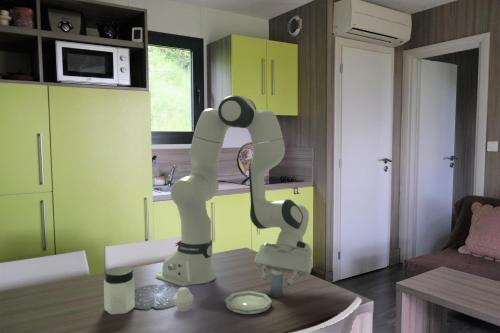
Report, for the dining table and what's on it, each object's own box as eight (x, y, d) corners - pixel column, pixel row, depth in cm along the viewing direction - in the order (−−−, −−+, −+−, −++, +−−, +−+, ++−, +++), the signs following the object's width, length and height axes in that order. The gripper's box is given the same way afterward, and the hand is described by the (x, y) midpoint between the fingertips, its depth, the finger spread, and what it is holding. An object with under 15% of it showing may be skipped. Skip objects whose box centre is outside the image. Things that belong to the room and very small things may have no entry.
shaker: (269, 295, 133) (269, 272, 133) (273, 291, 137) (273, 268, 136) (280, 297, 132) (280, 274, 131) (284, 293, 135) (284, 270, 135)
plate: (218, 310, 122) (218, 304, 122) (238, 293, 135) (238, 288, 135) (260, 318, 116) (260, 313, 116) (277, 301, 129) (277, 295, 129)
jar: (102, 316, 118) (101, 276, 117) (106, 304, 126) (105, 267, 125) (134, 313, 120) (133, 274, 119) (135, 302, 128) (134, 265, 127)
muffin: (175, 304, 126) (175, 283, 125) (195, 305, 126) (194, 283, 125) (171, 313, 120) (171, 290, 119) (191, 313, 119) (191, 291, 119)
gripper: (259, 237, 144) (246, 272, 136) (313, 245, 135) (302, 282, 127) (264, 246, 149) (252, 280, 141) (317, 254, 139) (306, 291, 131)
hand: (276, 281), depth 134 cm, fingers open, 8 cm apart
